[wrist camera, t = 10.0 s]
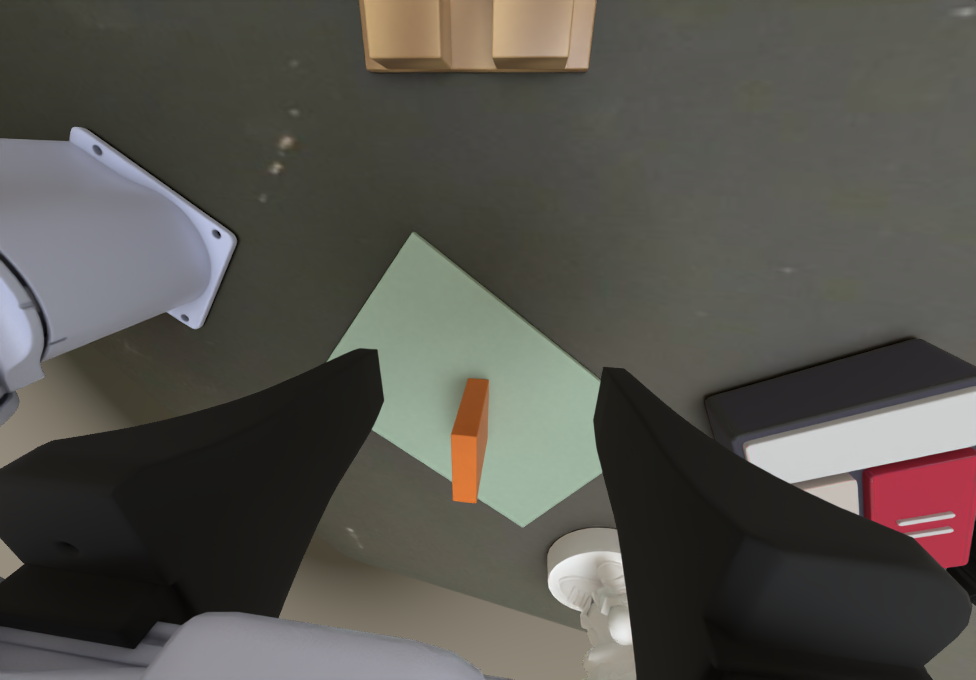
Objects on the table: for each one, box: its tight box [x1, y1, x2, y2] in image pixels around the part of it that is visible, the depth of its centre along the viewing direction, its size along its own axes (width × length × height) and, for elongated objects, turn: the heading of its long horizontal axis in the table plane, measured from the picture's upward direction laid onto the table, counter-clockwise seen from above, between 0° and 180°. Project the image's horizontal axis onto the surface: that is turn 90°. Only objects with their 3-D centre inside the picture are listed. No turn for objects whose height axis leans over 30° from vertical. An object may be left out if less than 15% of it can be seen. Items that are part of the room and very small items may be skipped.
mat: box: [327, 232, 602, 527], centre depth 25 cm, size 20×14×1 cm
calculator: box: [705, 339, 976, 568], centre depth 22 cm, size 11×4×15 cm
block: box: [451, 378, 489, 503], centre depth 22 cm, size 1×5×6 cm, turn 179°
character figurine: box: [547, 528, 637, 680], centre depth 25 cm, size 9×10×12 cm
